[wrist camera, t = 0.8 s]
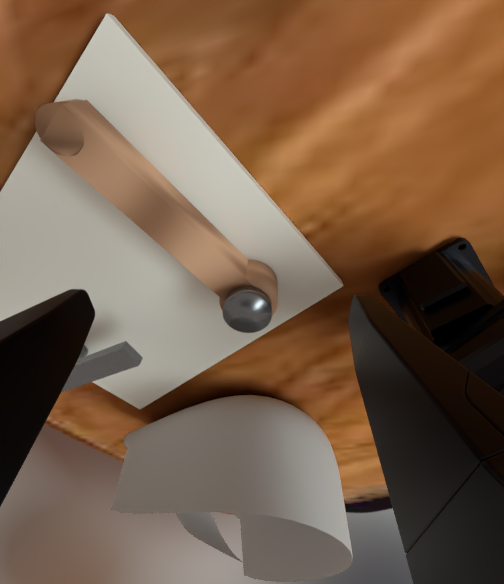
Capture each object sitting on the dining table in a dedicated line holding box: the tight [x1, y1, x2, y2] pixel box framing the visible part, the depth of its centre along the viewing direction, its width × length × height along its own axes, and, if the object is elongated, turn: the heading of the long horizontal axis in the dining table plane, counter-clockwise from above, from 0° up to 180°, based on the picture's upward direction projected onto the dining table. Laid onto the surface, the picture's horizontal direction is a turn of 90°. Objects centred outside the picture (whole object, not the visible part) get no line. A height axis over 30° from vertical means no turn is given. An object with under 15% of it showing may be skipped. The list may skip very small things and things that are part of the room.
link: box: [35, 99, 278, 316], centre depth 19 cm, size 17×4×2 cm, turn 42°
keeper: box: [62, 286, 272, 392], centre depth 24 cm, size 3×21×4 cm, turn 116°
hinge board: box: [0, 13, 343, 409], centre depth 25 cm, size 21×26×1 cm
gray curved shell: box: [111, 395, 353, 582], centre depth 32 cm, size 20×19×12 cm
